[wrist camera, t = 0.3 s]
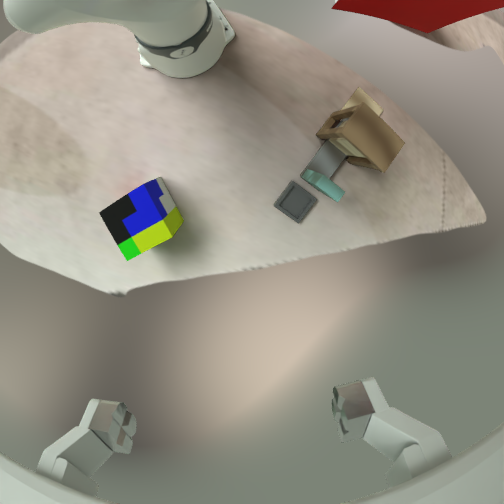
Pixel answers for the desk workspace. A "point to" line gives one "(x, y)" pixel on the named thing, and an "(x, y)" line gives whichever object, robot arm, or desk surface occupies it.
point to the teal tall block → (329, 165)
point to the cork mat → (363, 97)
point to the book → (420, 11)
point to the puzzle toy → (142, 218)
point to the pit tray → (295, 202)
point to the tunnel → (365, 136)
